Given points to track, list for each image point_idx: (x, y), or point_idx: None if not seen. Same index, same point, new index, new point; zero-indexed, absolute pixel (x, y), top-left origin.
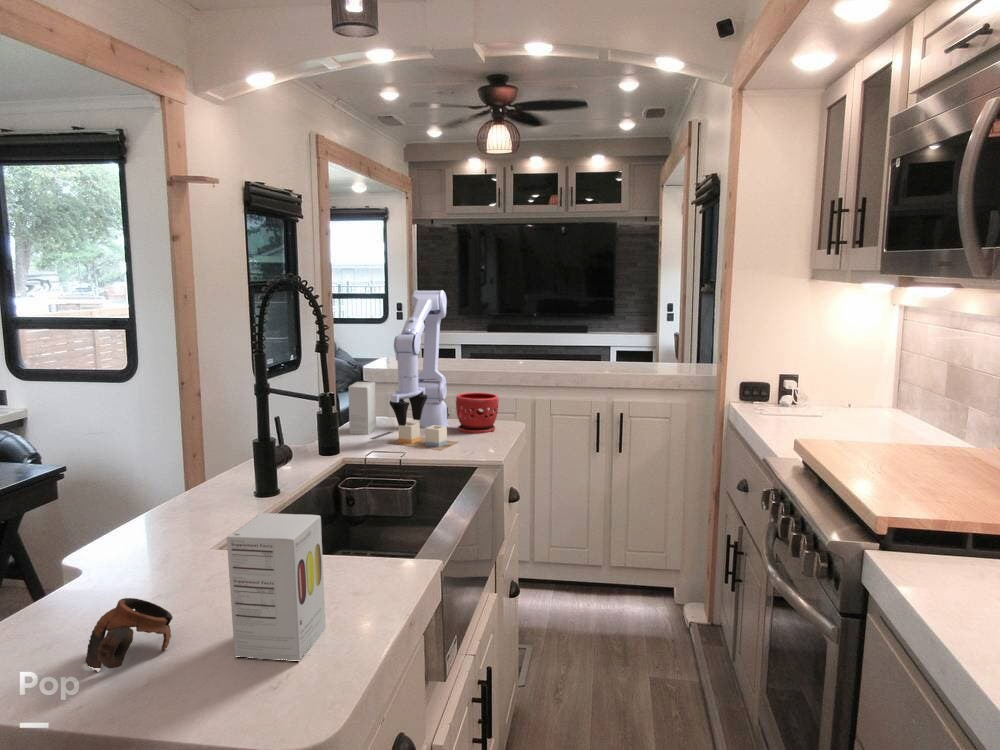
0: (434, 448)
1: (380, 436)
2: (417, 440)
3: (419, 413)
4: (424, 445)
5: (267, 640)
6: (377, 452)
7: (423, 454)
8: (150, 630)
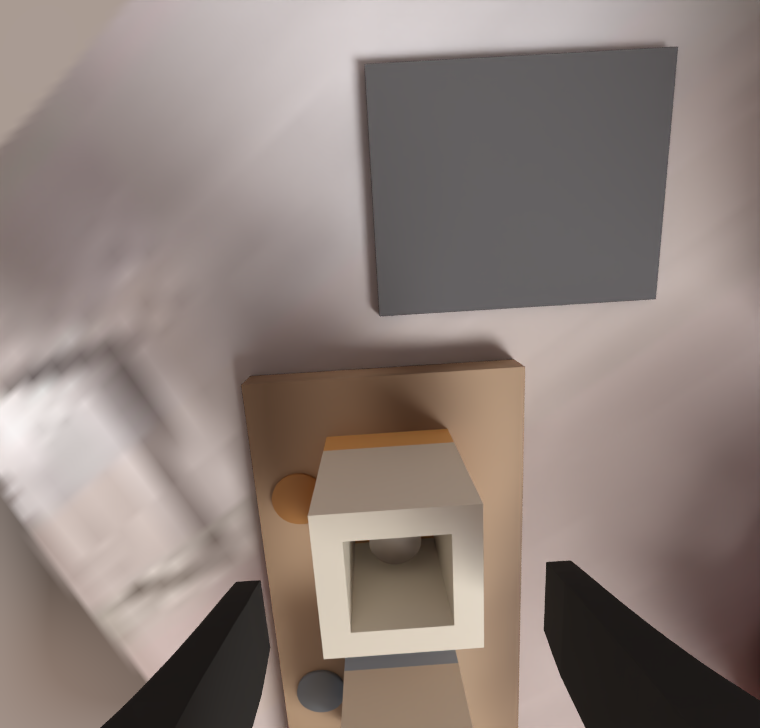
0: (312, 723)
1: (479, 104)
2: None
3: (586, 712)
4: None
5: None
6: (110, 399)
7: None
8: None
